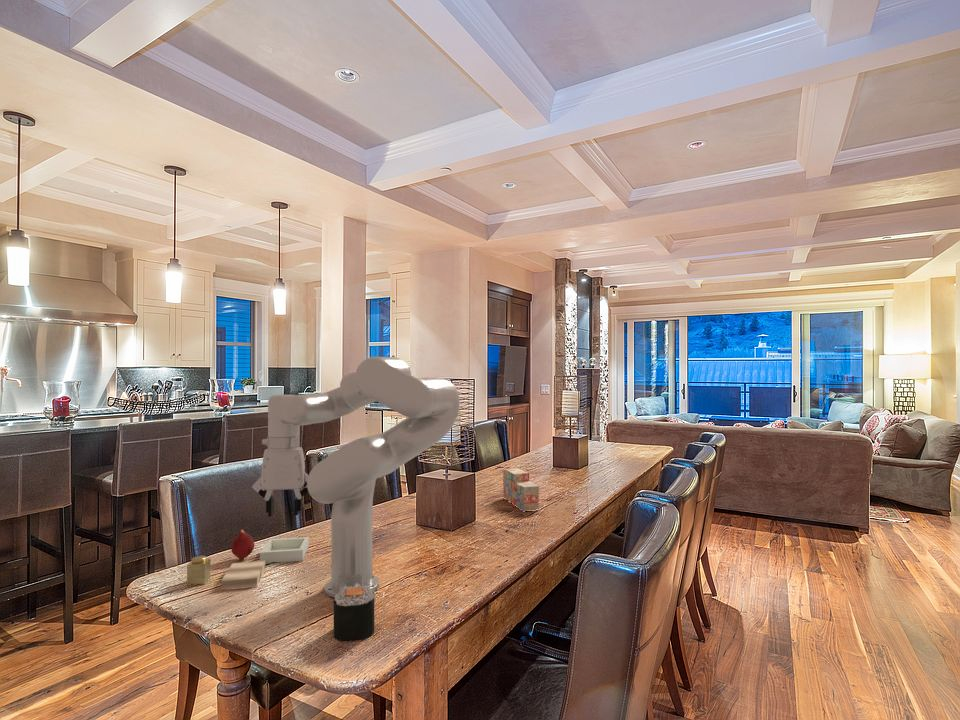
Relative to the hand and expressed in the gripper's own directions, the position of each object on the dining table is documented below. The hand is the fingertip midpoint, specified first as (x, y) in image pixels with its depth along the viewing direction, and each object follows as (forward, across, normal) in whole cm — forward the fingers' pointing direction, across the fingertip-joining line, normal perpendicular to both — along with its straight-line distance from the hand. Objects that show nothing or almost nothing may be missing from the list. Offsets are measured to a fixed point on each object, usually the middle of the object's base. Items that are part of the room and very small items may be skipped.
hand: (284, 513), depth 131 cm
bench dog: (+16, -20, 0) cm, 25 cm away
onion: (+16, -14, +14) cm, 25 cm away
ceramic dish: (+16, -2, +15) cm, 22 cm away
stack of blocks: (+16, +76, +55) cm, 95 cm away
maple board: (+16, -10, 0) cm, 19 cm away
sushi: (+16, +20, -32) cm, 41 cm away
